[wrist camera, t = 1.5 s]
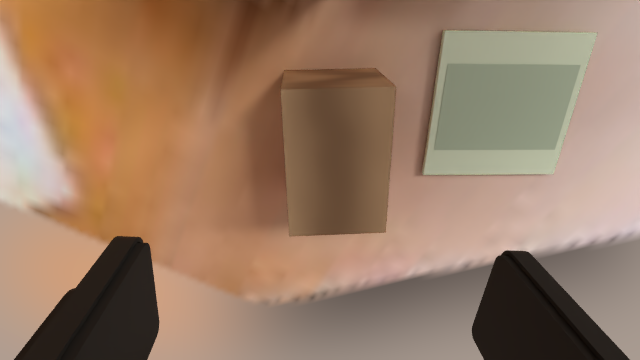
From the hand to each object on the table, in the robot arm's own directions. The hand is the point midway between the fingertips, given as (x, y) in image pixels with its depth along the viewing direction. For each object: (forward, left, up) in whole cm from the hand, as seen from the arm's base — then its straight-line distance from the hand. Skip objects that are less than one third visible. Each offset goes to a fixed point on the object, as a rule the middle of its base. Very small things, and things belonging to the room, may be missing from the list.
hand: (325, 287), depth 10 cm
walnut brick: (-2, +2, -18) cm, 18 cm away
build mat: (-14, 0, -17) cm, 22 cm away
